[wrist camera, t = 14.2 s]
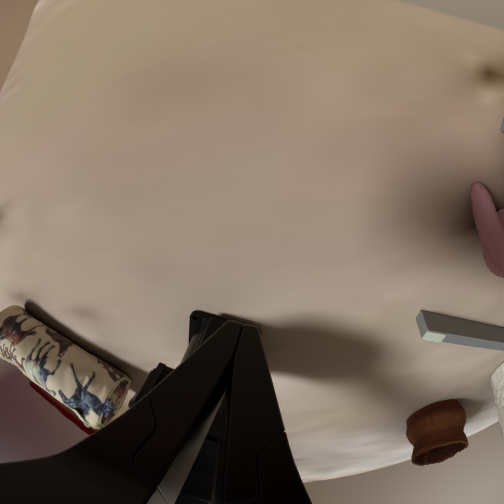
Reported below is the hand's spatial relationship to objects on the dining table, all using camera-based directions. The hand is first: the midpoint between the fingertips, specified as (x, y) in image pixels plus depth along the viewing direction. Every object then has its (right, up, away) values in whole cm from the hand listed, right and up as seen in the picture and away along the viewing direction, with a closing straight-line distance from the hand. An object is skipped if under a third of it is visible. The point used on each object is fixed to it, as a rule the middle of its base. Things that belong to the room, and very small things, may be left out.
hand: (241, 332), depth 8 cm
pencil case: (-26, -11, +28) cm, 39 cm away
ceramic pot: (+25, -19, +23) cm, 39 cm away
